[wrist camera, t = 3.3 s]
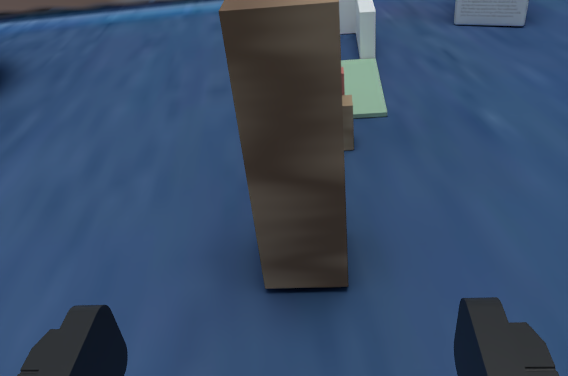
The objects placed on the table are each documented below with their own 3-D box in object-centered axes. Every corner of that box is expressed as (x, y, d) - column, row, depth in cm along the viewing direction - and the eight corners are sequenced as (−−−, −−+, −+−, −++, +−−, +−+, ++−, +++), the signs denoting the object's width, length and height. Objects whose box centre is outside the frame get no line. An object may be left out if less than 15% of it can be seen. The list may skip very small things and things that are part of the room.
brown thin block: (344, 118, 34) (338, -84, 27) (357, 286, 22) (352, 0, 15) (278, 122, 35) (256, -76, 28) (256, 288, 23) (205, 12, 16)
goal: (368, 27, 49) (367, -17, 46) (375, 60, 42) (375, 11, 40) (262, 35, 50) (257, -8, 47) (253, 68, 43) (247, 21, 41)
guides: (352, 138, 33) (351, 94, 31) (353, 149, 32) (353, 105, 30) (271, 142, 33) (265, 100, 31) (269, 154, 32) (263, 110, 30)
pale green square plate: (375, 61, 42) (375, 58, 42) (387, 116, 35) (387, 112, 34) (253, 70, 43) (253, 66, 43) (239, 124, 36) (238, 120, 35)
